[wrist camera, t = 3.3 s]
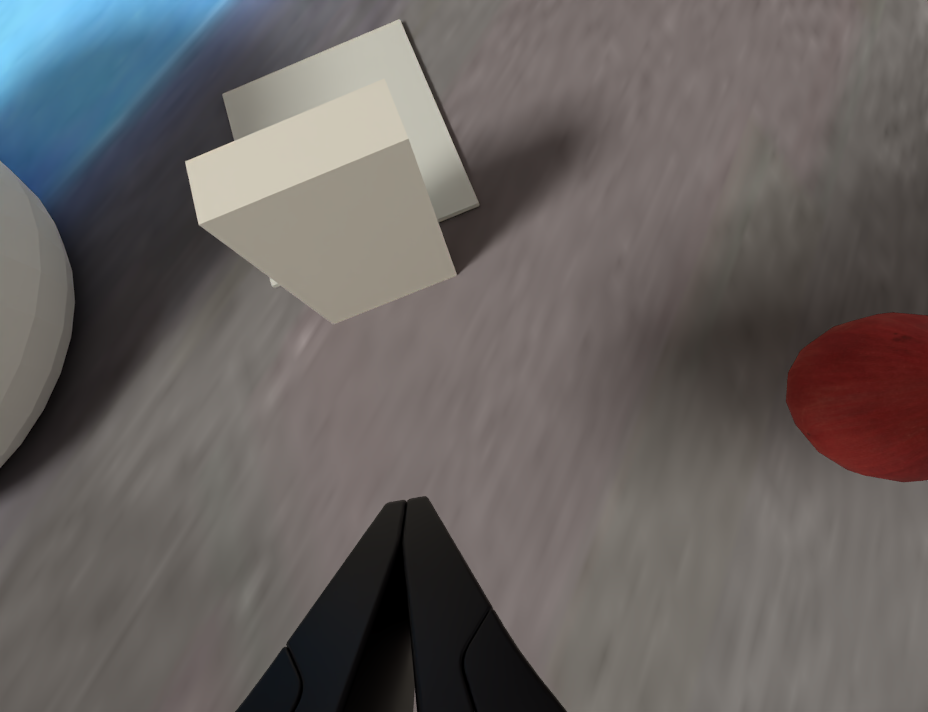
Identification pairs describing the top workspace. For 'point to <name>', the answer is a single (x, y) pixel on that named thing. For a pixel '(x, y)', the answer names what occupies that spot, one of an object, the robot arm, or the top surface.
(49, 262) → the pot
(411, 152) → the beige rectangular block
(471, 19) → the top surface
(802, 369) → the onion
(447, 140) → the mat
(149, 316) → the top surface
